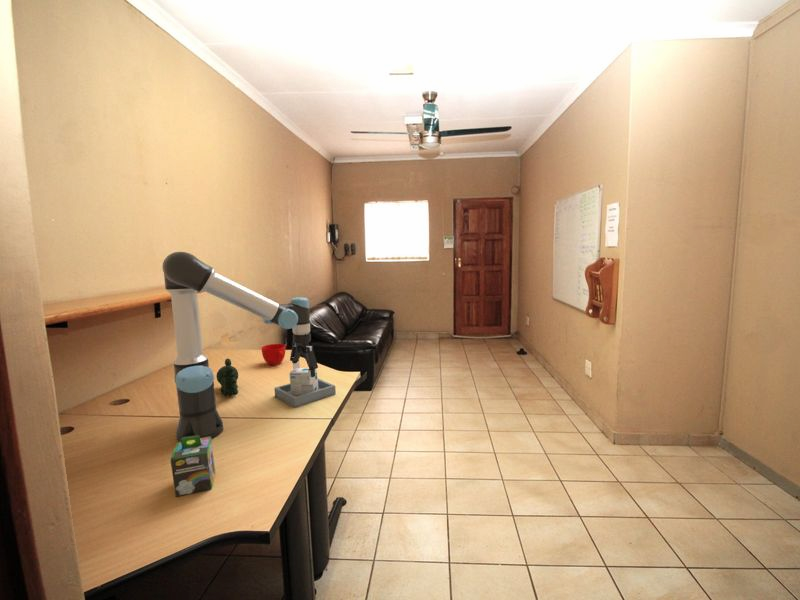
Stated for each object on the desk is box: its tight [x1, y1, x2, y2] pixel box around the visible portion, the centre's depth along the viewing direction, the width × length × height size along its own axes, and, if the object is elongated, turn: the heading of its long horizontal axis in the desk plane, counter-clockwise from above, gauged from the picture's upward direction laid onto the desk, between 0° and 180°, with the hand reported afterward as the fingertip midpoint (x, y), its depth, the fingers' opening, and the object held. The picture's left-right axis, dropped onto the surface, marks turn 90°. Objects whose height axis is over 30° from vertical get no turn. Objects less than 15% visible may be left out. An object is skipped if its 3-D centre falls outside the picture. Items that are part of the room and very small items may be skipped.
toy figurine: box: [216, 358, 239, 397], centre depth 179 cm, size 9×19×25 cm
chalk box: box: [170, 435, 216, 498], centre depth 108 cm, size 9×9×15 cm
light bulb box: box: [289, 367, 319, 395], centre depth 173 cm, size 11×7×11 cm, turn 84°
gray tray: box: [274, 378, 336, 408], centre depth 173 cm, size 20×18×4 cm
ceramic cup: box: [261, 343, 286, 366], centre depth 220 cm, size 13×17×10 cm
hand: (304, 380), depth 173 cm, fingers open, 12 cm apart
